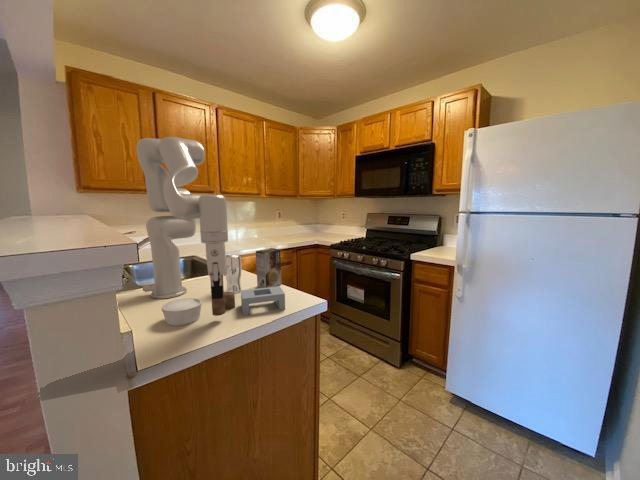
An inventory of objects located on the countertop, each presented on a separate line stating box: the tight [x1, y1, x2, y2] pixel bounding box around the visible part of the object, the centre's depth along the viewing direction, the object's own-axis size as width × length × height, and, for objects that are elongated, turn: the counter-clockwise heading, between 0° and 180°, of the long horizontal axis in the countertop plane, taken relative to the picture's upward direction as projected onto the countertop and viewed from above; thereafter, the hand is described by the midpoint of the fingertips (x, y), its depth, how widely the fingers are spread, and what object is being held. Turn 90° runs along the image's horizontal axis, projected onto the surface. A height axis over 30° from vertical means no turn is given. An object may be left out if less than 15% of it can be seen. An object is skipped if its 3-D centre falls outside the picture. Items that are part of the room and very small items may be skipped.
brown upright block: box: [224, 292, 236, 310], centre depth 94 cm, size 4×4×5 cm
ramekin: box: [161, 297, 203, 327], centre depth 85 cm, size 11×11×5 cm
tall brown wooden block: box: [209, 273, 226, 317], centre depth 82 cm, size 4×4×15 cm
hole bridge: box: [240, 285, 286, 316], centre depth 94 cm, size 14×9×6 cm, turn 109°
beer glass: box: [224, 253, 243, 294], centre depth 111 cm, size 7×7×15 cm
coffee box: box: [255, 247, 283, 288], centre depth 118 cm, size 9×6×16 cm
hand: (217, 295), depth 82 cm, fingers closed on tall brown wooden block, 3 cm apart
